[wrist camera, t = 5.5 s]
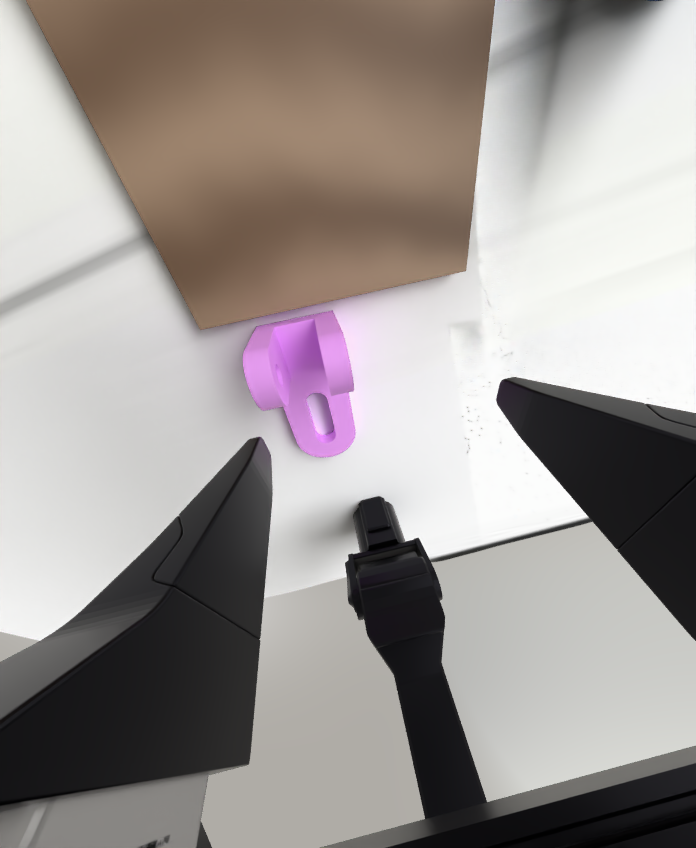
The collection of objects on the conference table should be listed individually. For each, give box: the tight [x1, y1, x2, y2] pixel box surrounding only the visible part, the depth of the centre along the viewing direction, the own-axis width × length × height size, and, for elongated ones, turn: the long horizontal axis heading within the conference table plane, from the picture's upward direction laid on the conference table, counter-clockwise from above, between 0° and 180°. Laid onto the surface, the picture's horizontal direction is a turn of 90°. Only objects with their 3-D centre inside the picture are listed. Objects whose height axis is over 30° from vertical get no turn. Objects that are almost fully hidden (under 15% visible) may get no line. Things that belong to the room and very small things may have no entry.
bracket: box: [243, 310, 355, 457], centre depth 19 cm, size 13×6×7 cm, turn 9°
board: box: [26, 0, 495, 330], centre depth 10 cm, size 20×18×4 cm
